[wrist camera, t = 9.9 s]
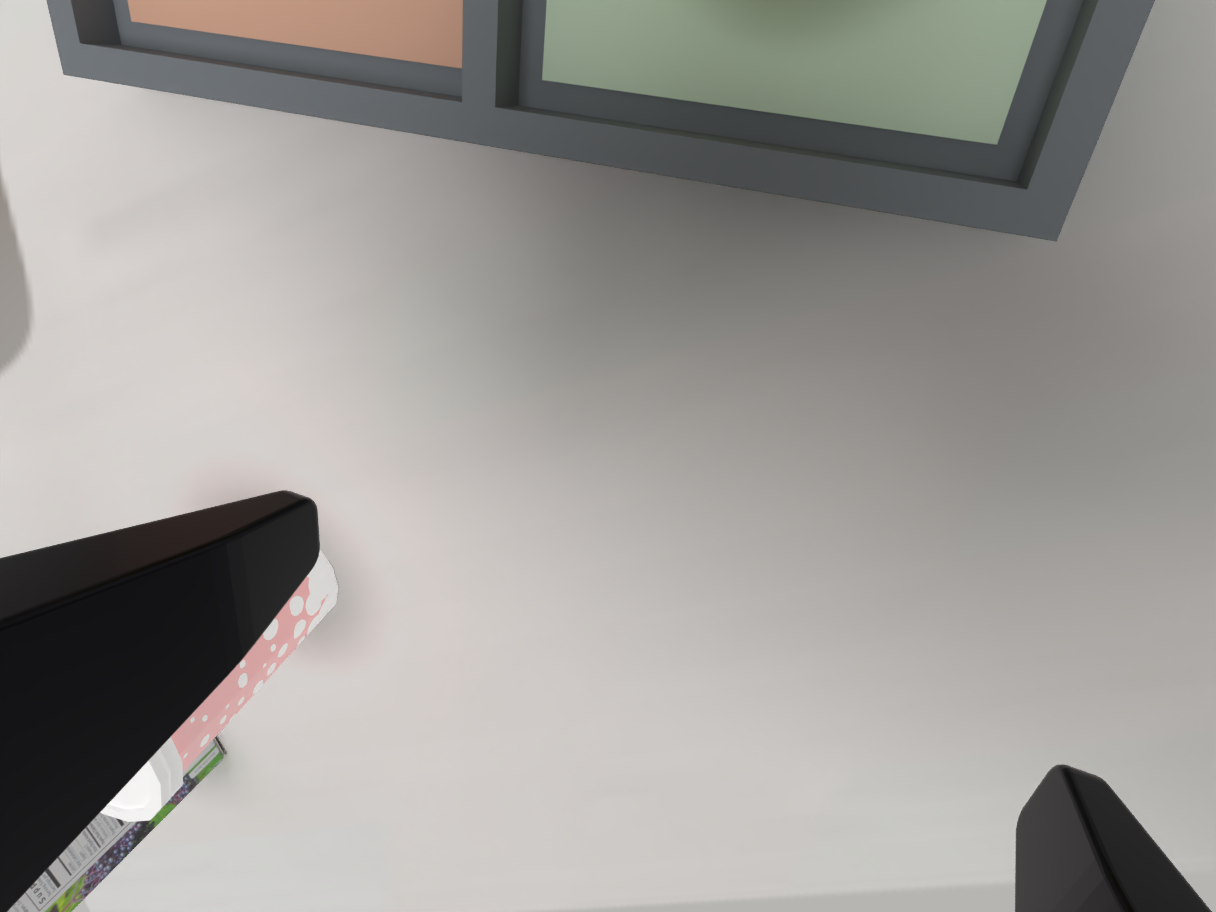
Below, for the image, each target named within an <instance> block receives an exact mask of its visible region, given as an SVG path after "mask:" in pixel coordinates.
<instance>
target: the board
mask: <svg viewBox="0 0 1216 912" xmlns="http://www.w3.org/2000/svg"><path fill="white" fill-rule="evenodd" d="M1154 1H1155V0H47V4H48V9H49V13H50V17H51V22H52V26H53V30H54V35H55V39H56V43H57V48H58V52H59V56H60V61H61V65H62V69H63V74H64V75H69V76H75V77H81V78H87V79H93V80H99V81H105V82H110V83H116V84H122V85H128V86H134V87H140V88H146V89H152V90H158V91H164V92H170V93H176V94H182V95H188V96H194V97H200V98H206V99H212V100H218V101H224V102H230V103H236V104H242V105H247V106H253V107H259V108H265V109H271V110H277V111H283V112H289V113H295V114H301V115H307V116H313V117H319V118H325V119H331V120H337V121H343V122H349V123H355V124H361V125H367V126H373V127H379V128H384V129H390V130H396V131H402V132H408V133H414V134H420V135H426V136H432V137H438V138H444V139H450V140H456V141H462V142H468V143H474V144H480V145H486V146H492V147H498V148H504V149H510V150H516V151H522V152H527V153H533V154H539V155H545V156H551V157H557V158H563V159H569V160H575V161H581V162H587V163H593V164H599V165H605V166H611V167H617V168H623V169H629V170H635V171H641V172H647V173H653V174H659V175H664V176H670V177H676V178H682V179H688V180H694V181H700V182H706V183H712V184H718V185H724V186H730V187H736V188H742V189H748V190H754V191H760V192H766V193H772V194H778V195H784V196H790V197H796V198H801V199H807V200H813V201H819V202H825V203H831V204H837V205H843V206H849V207H855V208H861V209H867V210H873V211H879V212H885V213H891V214H897V215H903V216H909V217H915V218H921V219H927V220H933V221H938V222H944V223H950V224H956V225H962V226H968V227H974V228H980V229H986V230H992V231H998V232H1004V233H1010V234H1016V235H1022V236H1028V237H1034V238H1040V239H1046V240H1052V241H1057V238H1058V236H1059V233H1060V231H1061V229H1062V226H1063V224H1064V221H1065V219H1066V216H1067V214H1068V211H1069V209H1070V207H1071V204H1072V202H1073V199H1074V197H1075V194H1076V192H1077V189H1078V187H1079V185H1080V182H1081V180H1082V177H1083V175H1084V172H1085V170H1086V167H1087V165H1088V162H1089V160H1090V158H1091V155H1092V153H1093V150H1094V148H1095V145H1096V143H1097V140H1098V138H1099V136H1100V133H1101V131H1102V128H1103V126H1104V123H1105V121H1106V118H1107V116H1108V113H1109V111H1110V109H1111V106H1112V104H1113V101H1114V99H1115V96H1116V94H1117V91H1118V89H1119V87H1120V84H1121V82H1122V79H1123V77H1124V74H1125V72H1126V69H1127V67H1128V65H1129V62H1130V60H1131V57H1132V55H1133V52H1134V50H1135V47H1136V45H1137V42H1138V40H1139V38H1140V35H1141V33H1142V30H1143V28H1144V25H1145V23H1146V20H1147V18H1148V16H1149V13H1150V11H1151V8H1152V6H1153V3H1154Z"/></svg>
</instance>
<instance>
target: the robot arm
mask: <svg viewBox="0 0 1216 912" xmlns="http://www.w3.org/2000/svg"><path fill="white" fill-rule="evenodd" d="M319 552H320V542H319V527H318V512H317V506H316V504H315V502H314V501H313V500H312V499H310V498H308V497H305V496H302V495H300V494H297V493H294V492H291V491H284V490H283V491H278V492H273V493H269V494H265V495H261V496H257V497H253V498H249V499H244V500H240V501H236V502H232V503H228V504H224V505H219V506H215V507H211V508H207V509H203V510H199V511H195V512H190V513H186V514H182V515H178V516H174V517H170V518H165V519H161V520H157V521H153V522H149V523H145V524H141V525H136V526H132V527H128V528H124V529H120V530H116V531H111V532H107V533H103V534H99V535H95V536H91V537H87V538H82V539H78V540H74V541H70V542H66V543H62V544H57V545H53V546H49V547H45V548H41V549H37V550H33V551H28V552H24V553H20V554H16V555H12V556H8V557H3V558H0V912H8V911H9V910H10V908H11V907H12V906H13V905H14V904H15V903H16V902H17V901H18V900H19V899H20V898H21V897H22V896H23V895H24V893H25V892H26V891H27V890H28V889H29V888H30V887H31V886H32V885H33V884H34V883H35V882H36V881H37V880H38V878H39V877H40V876H41V875H42V874H43V873H44V872H45V871H46V870H47V869H48V868H49V867H50V866H51V865H52V863H53V862H54V861H55V860H56V859H57V858H58V857H59V856H60V855H61V854H62V853H63V852H64V851H65V850H66V848H67V847H68V846H69V845H70V844H71V843H72V842H73V841H74V840H75V839H76V838H77V837H78V836H79V835H80V833H81V832H82V831H83V830H84V829H85V828H86V827H87V826H88V825H89V824H90V823H91V822H92V821H93V820H94V818H95V817H96V816H97V815H98V814H99V813H100V812H101V811H102V810H103V809H104V808H105V807H106V806H107V805H108V804H109V802H110V801H111V800H112V799H113V798H114V797H115V796H116V795H117V794H118V793H119V792H120V791H121V790H122V789H123V787H124V786H125V785H126V784H127V783H128V782H129V781H130V780H131V779H132V778H133V777H134V776H135V775H136V774H137V772H138V771H139V770H140V769H141V768H142V767H143V766H144V765H145V764H146V763H147V762H148V761H149V760H150V759H151V757H152V756H153V755H154V754H155V753H156V752H157V751H158V750H159V749H160V748H161V747H162V746H163V745H164V744H165V742H166V741H167V740H168V739H169V738H170V737H171V736H172V735H173V734H174V733H175V732H176V731H177V730H178V729H179V727H180V726H181V725H182V724H183V723H184V722H185V721H186V720H187V719H188V718H189V717H190V716H191V715H192V714H193V713H194V711H195V710H196V709H197V708H198V707H199V706H200V705H201V704H202V703H203V702H204V701H205V700H206V699H207V698H208V696H209V695H210V694H211V693H212V692H213V691H214V690H215V689H216V688H217V687H218V686H219V685H220V684H221V683H222V681H223V680H224V679H225V678H226V677H227V676H228V675H229V674H230V673H231V672H232V671H233V669H234V668H235V667H236V666H237V665H238V664H239V663H240V662H241V660H242V659H243V658H244V657H245V656H246V654H247V653H248V652H249V651H250V650H251V648H252V647H253V646H254V645H255V643H256V642H257V641H258V640H259V638H260V637H261V636H262V634H263V633H264V632H265V630H266V629H267V628H268V626H269V625H270V624H271V623H272V621H273V620H274V619H275V617H276V616H277V615H278V613H279V612H280V611H281V609H282V608H283V607H284V606H285V604H286V603H287V602H288V600H289V599H290V598H291V596H292V595H293V594H294V592H295V591H296V590H297V589H298V587H299V586H300V585H301V583H302V582H303V581H304V579H305V578H306V577H307V575H308V574H309V573H310V572H311V570H312V569H313V567H314V566H315V564H316V562H317V559H318V557H319ZM1015 912H1212V911H1211V910H1210V909H1209V908H1208V907H1207V906H1206V904H1205V903H1204V902H1203V900H1202V899H1201V898H1200V897H1199V895H1198V894H1197V893H1196V892H1195V891H1194V889H1193V888H1192V887H1191V886H1190V884H1189V883H1188V882H1187V881H1186V879H1185V878H1184V877H1183V876H1182V875H1181V873H1180V872H1179V871H1178V870H1177V868H1176V867H1175V866H1174V865H1173V863H1172V862H1171V861H1170V860H1169V859H1168V857H1167V856H1166V855H1165V854H1164V852H1163V851H1162V850H1161V849H1160V847H1159V846H1158V845H1157V844H1156V843H1155V841H1154V840H1153V839H1152V838H1151V836H1150V835H1149V834H1148V833H1147V831H1146V830H1145V829H1144V828H1143V827H1142V825H1141V824H1140V823H1139V822H1138V820H1137V819H1136V818H1135V817H1134V815H1133V814H1132V813H1131V812H1130V811H1129V809H1128V808H1127V807H1126V806H1125V804H1124V803H1123V802H1122V801H1121V799H1120V798H1119V797H1118V796H1117V795H1116V793H1115V792H1114V791H1113V790H1112V788H1111V787H1110V786H1109V785H1108V784H1107V783H1106V782H1105V781H1104V780H1103V779H1102V778H1100V777H1098V776H1096V775H1093V774H1090V773H1087V772H1085V771H1082V770H1079V769H1076V768H1073V767H1070V766H1068V765H1056V766H1054V767H1053V768H1052V769H1051V770H1050V771H1049V772H1048V773H1047V775H1046V776H1045V777H1044V779H1043V780H1042V782H1041V783H1040V785H1039V786H1038V787H1037V789H1036V790H1035V792H1034V793H1033V795H1032V796H1031V797H1030V799H1029V800H1028V802H1027V803H1026V805H1025V806H1024V807H1023V809H1022V811H1021V813H1020V816H1019V818H1018V822H1017V828H1016V873H1015Z"/></svg>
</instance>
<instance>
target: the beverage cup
mask: <svg viewBox="0 0 1216 912" xmlns="http://www.w3.org/2000/svg"><path fill="white" fill-rule="evenodd" d="M337 594H338V584H337V581H336V577H335V574H334V570H333V567H332V566H331V564H330V563H329V561H328V560H327V558H326V557H325V555H324V554H323V552H322V551H321V549H320V552H319V557H318V559H317V562H316V564H315V566H314V567H313V569H312V570H311V572H310V573H309V574H308V575H307V577H306V578H305V579H304V581H303V582H302V583H301V585H300V586H299V587H298V589H297V590H296V591H295V592H294V594H293V595H292V596H291V598H290V599H289V600H288V602H287V603H286V604H285V606H284V607H283V608H282V609H281V611H280V612H279V613H278V615H277V616H276V617H275V619H274V620H273V621H272V623H271V624H270V625H269V626H268V628H267V629H266V630H265V632H264V633H263V634H262V636H261V637H260V638H259V640H258V641H257V642H256V643H255V645H254V646H253V647H252V648H251V650H250V651H249V652H248V653H247V654H246V656H245V657H244V658H243V659H242V660H241V662H240V663H239V664H238V665H237V666H236V667H235V668H234V669H233V671H232V672H231V673H230V674H229V675H228V676H227V677H226V678H225V679H224V680H223V681H222V683H221V684H220V685H219V686H218V687H217V688H216V689H215V690H214V691H213V692H212V693H211V694H210V695H209V696H208V698H207V699H206V700H205V701H204V702H203V703H202V704H201V705H200V706H199V707H198V708H197V709H196V710H195V711H194V713H193V714H192V715H191V716H190V717H189V718H188V719H187V720H186V721H185V722H184V723H183V724H182V725H181V726H180V727H179V729H178V730H177V731H176V732H175V733H174V734H173V735H172V736H171V737H170V738H169V739H168V740H167V741H166V742H165V744H164V745H163V746H162V747H161V748H160V749H159V750H158V751H157V752H156V753H155V754H154V755H153V756H152V757H151V759H150V760H149V761H148V762H147V763H146V764H145V765H144V766H143V767H142V768H141V769H140V770H139V771H138V772H137V774H136V775H135V776H134V777H133V778H132V779H131V780H130V781H129V782H128V783H127V784H126V785H125V786H124V787H123V789H122V790H121V791H120V792H119V793H118V794H117V795H116V796H115V797H114V798H113V799H112V800H111V801H110V802H109V804H108V805H107V806H106V807H105V808H104V809H103V810H102V811H101V812H100V813H102V814H105V815H108V816H111V817H114V818H117V819H120V820H124V821H127V822H135V821H149V820H151V819H152V818H153V817H154V816H155V815H156V814H157V813H158V812H159V811H160V810H161V808H162V807H163V806H164V805H165V804H166V803H167V802H168V801H169V800H170V798H171V797H172V796H173V795H174V794H175V793H176V792H177V791H178V790H179V788H180V787H181V786H182V785H183V772H184V771H185V770H186V769H187V768H188V767H189V766H190V765H191V763H192V762H193V761H194V760H195V759H196V758H197V757H198V756H199V755H200V754H201V752H202V751H203V750H204V749H205V748H206V747H207V746H208V745H209V744H210V742H211V741H212V740H213V739H214V738H215V737H216V736H217V735H218V734H219V733H220V731H221V730H222V729H223V728H224V727H225V726H226V725H227V724H228V723H229V721H230V720H231V719H232V718H233V717H234V716H235V715H236V714H237V713H238V712H239V710H240V709H241V708H242V707H243V706H244V705H245V704H246V703H247V702H248V700H249V699H250V698H251V697H252V696H253V695H254V694H255V693H256V692H257V691H258V689H259V688H260V687H261V686H262V685H263V684H264V683H265V682H266V681H267V679H268V678H269V677H270V676H271V675H272V674H273V673H274V672H275V671H276V670H277V668H278V667H279V666H280V665H281V664H282V663H283V662H284V661H285V660H286V658H287V657H288V656H289V655H290V654H291V653H292V652H293V651H294V650H295V649H296V647H297V646H298V645H299V644H300V643H301V642H302V641H303V640H304V639H305V637H306V636H307V635H308V634H309V633H310V632H311V631H312V630H313V629H314V628H315V626H316V625H317V624H318V623H319V622H320V621H321V620H322V619H323V618H324V616H325V615H326V614H327V613H328V612H329V611H330V610H331V609H332V608H333V606H334V605H335V604H336V601H337Z"/></svg>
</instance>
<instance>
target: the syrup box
mask: <svg viewBox="0 0 1216 912" xmlns="http://www.w3.org/2000/svg"><path fill="white" fill-rule="evenodd" d="M223 754H224V753H223V751H222V749H221V747H220V746H219V744H218V742H217V741H216V739H215V738H214V739H213V740H212V741H211V742H210V744H209V745H208V746H207V747H206V748H205V749H204V750H203V751H202V752H201V754H200V755H199V756H198V757H197V758H196V759H195V760H194V761H193V762H192V763H191V765H190V766H189V767H188V768H187V769H186V770H185V771H184V772H183V785H182V786H181V787H180V788H179V790H178V791H177V792H176V793H175V794H174V795H173V796H172V797H171V798H170V800H169V801H168V802H167V803H166V804H165V805H164V806H163V807H162V808H161V810H160V811H159V812H158V813H157V814H156V815H155V816H154V817H153V818H152V819H151V820H149V821H135V822H127V821H124V820H120V819H117V818H114V817H111V816H108V815H105V814H102V813H99V814H98V815H97V816H96V817H95V818H94V820H93V821H92V822H91V823H90V824H89V825H88V826H87V827H86V828H85V829H84V830H83V831H82V832H81V833H80V835H79V836H78V837H77V838H76V839H75V840H74V841H73V842H72V843H71V844H70V845H69V846H68V847H67V848H66V850H65V851H64V852H63V853H62V854H61V855H60V856H59V857H58V858H57V859H56V860H55V861H54V862H53V863H52V865H51V866H50V867H49V868H48V869H47V870H46V871H45V872H44V873H43V874H42V875H41V876H40V877H39V878H38V880H37V881H36V882H35V883H34V884H33V885H32V886H31V887H30V888H29V889H28V890H27V891H26V892H25V893H24V895H23V896H22V897H21V898H20V899H19V900H18V901H17V902H16V903H15V904H14V905H13V906H12V907H11V908H10V910H9V911H8V912H71V911H72V910H73V909H74V908H75V907H76V906H77V905H78V904H79V903H80V902H81V901H82V900H83V899H84V898H85V897H86V896H87V895H88V894H89V893H90V892H91V891H92V890H93V889H94V888H95V887H96V886H97V885H98V884H99V883H100V882H101V881H102V880H103V879H104V878H105V877H106V876H107V875H108V874H109V873H110V872H111V871H112V870H113V869H114V868H115V867H116V866H117V865H118V864H119V863H120V862H121V861H122V860H123V859H124V858H125V857H126V856H127V855H128V854H129V853H130V852H131V851H132V850H133V849H134V848H135V847H136V846H137V845H138V844H139V843H140V842H141V841H142V840H143V839H144V838H145V837H146V836H147V835H148V834H149V833H150V832H151V831H152V830H153V829H154V828H155V827H156V826H157V825H158V824H159V823H160V822H161V821H162V820H163V819H164V818H165V817H166V816H167V815H168V814H169V813H170V812H171V811H172V810H173V809H174V808H175V807H176V806H177V805H178V804H179V803H180V802H181V801H182V800H183V799H184V798H185V797H186V796H187V794H188V793H189V792H191V791H192V790H193V788H194V787H195V786H196V785H197V784H198V783H199V782H200V781H201V780H202V779H203V778H204V777H205V776H206V775H207V774H208V773H209V772H210V771H211V770H212V769H213V768H214V767H216V766H217V764H218V763H219V762H220V761H221V760H222V759H223Z"/></svg>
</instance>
